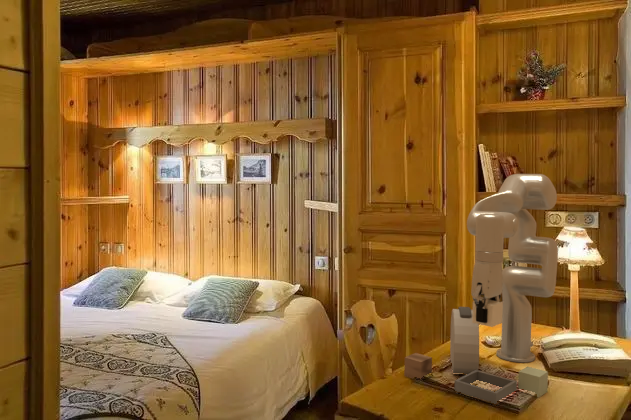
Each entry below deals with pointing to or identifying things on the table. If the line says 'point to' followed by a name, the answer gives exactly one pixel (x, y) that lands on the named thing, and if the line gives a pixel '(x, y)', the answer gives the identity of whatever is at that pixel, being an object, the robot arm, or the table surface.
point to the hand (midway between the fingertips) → (487, 319)
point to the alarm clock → (464, 341)
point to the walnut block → (417, 365)
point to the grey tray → (475, 391)
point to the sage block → (533, 380)
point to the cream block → (490, 313)
